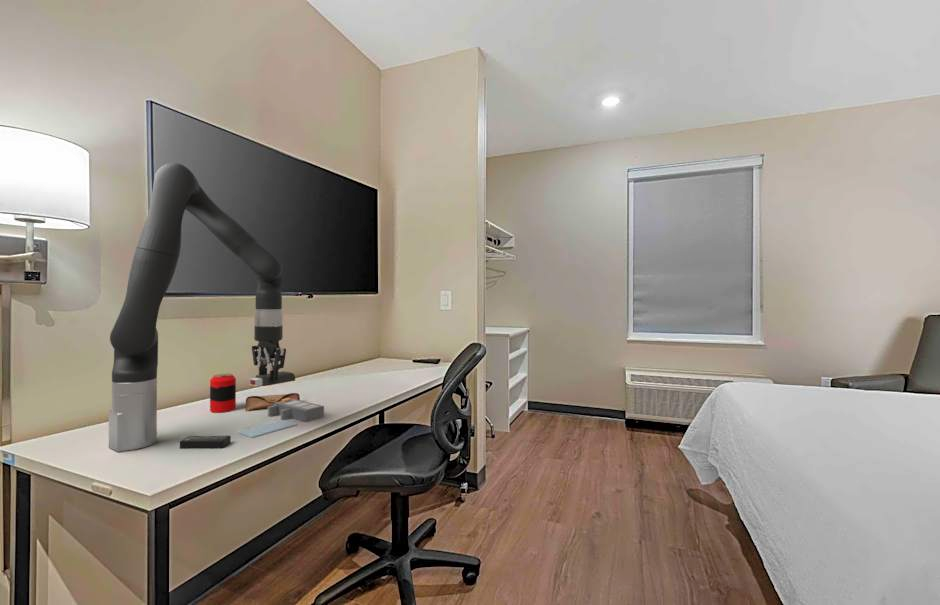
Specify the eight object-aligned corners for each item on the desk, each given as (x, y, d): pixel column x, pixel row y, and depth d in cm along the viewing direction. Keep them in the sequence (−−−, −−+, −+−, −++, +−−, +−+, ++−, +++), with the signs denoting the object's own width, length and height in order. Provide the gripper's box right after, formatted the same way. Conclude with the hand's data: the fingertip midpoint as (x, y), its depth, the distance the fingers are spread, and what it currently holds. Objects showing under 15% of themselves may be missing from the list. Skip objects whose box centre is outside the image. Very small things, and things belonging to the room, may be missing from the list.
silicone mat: (252, 438, 115) (252, 436, 115) (238, 433, 119) (238, 431, 119) (296, 425, 127) (296, 423, 127) (282, 421, 131) (282, 419, 131)
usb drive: (295, 380, 128) (295, 371, 128) (257, 387, 118) (257, 377, 118) (285, 378, 131) (285, 369, 131) (247, 385, 120) (247, 375, 120)
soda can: (212, 414, 137) (213, 378, 137) (207, 409, 143) (207, 374, 142) (238, 410, 142) (238, 375, 142) (232, 405, 148) (232, 372, 148)
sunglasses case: (243, 411, 140) (244, 392, 143) (244, 417, 146) (245, 399, 149) (301, 406, 148) (300, 388, 151) (300, 412, 153) (299, 394, 156)
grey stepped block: (297, 424, 128) (297, 410, 128) (265, 415, 137) (265, 402, 137) (323, 416, 136) (324, 403, 136) (292, 408, 145) (292, 396, 145)
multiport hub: (222, 449, 107) (222, 441, 107) (178, 450, 107) (178, 441, 107) (231, 443, 112) (231, 435, 112) (189, 443, 111) (189, 435, 111)
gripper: (242, 323, 123) (242, 380, 124) (271, 326, 116) (270, 387, 116) (266, 322, 130) (266, 376, 130) (295, 324, 122) (294, 382, 122)
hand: (268, 381), depth 123 cm, fingers closed on usb drive, 5 cm apart
